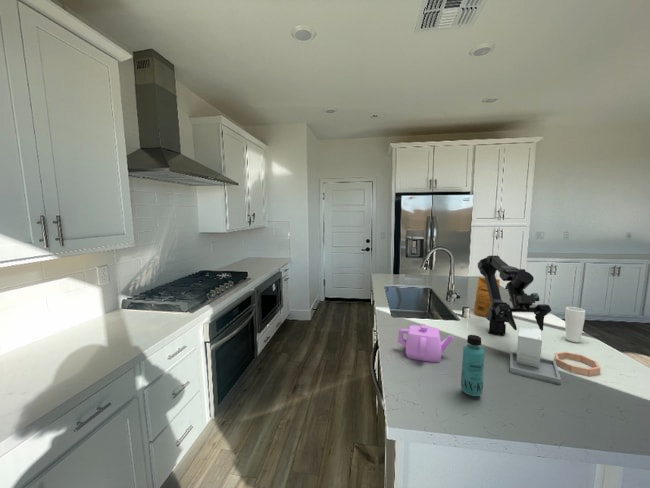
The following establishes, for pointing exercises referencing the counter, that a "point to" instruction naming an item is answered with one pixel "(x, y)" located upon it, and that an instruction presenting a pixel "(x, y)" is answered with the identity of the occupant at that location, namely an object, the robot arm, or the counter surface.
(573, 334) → the drinking glass
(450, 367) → the counter surface
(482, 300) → the coffee package
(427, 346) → the teakettle
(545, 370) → the tray
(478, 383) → the beverage bottle
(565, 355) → the segmented octagonal ring
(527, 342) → the supplement box
